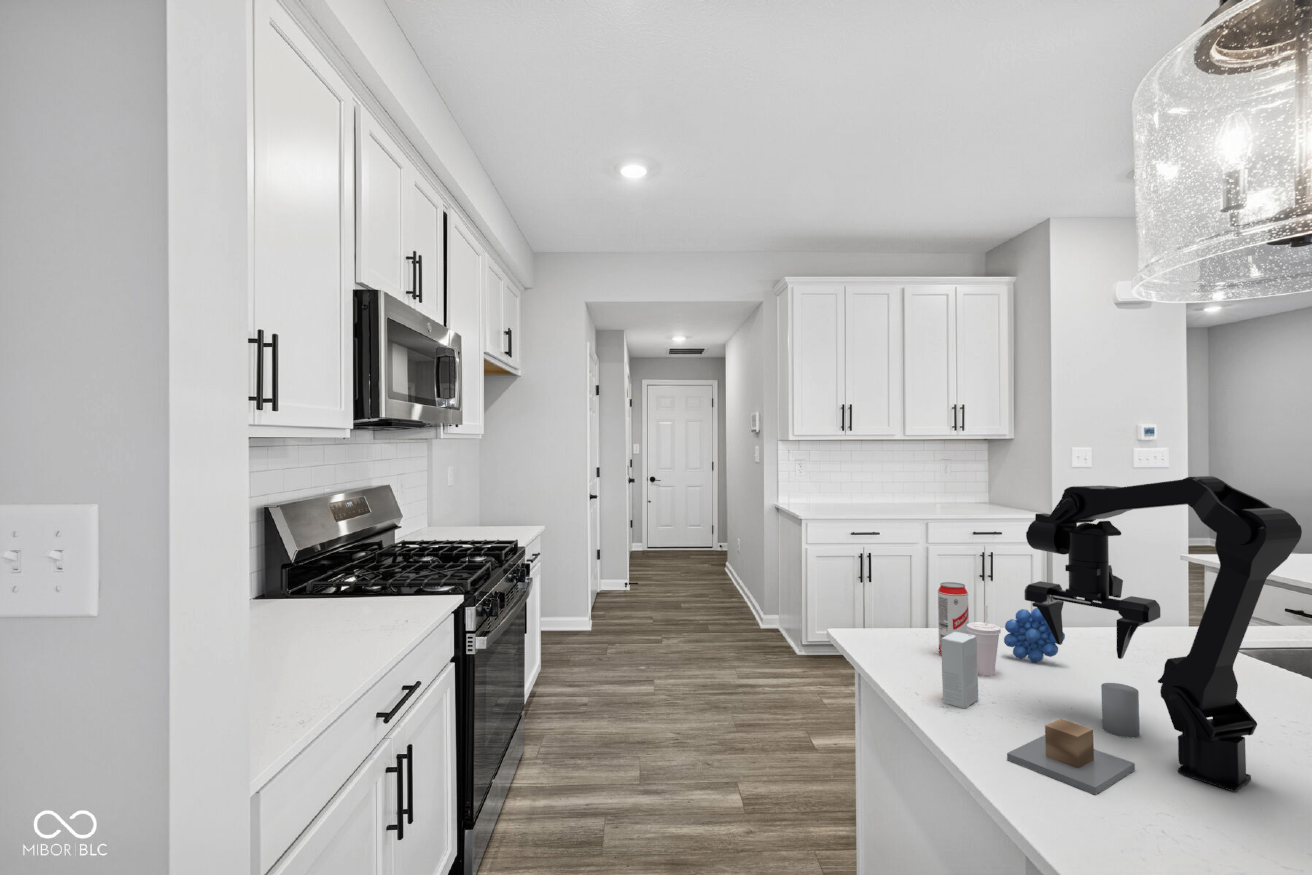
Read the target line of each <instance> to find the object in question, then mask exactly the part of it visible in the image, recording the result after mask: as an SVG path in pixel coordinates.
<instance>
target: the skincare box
mask: <svg viewBox="0 0 1312 875" xmlns="http://www.w3.org/2000/svg"><path fill="white" fill-rule="evenodd" d="M941 651H942V654H941V677H942V678H941V679H942V681H941V683H942V703H943V704H946V705H950V706H954V707H958V708H961V709H967V708H968V707H970V706H971V705H972V704H973V703H975V702H977V701H978V700H979V675H978V670H977V638H976V636H975V635H970V634H965V633H960V632H953V633H951V634H949V635H947V636H945V637H943V638H941Z"/></svg>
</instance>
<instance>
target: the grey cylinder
mask: <svg viewBox="0 0 1312 875" xmlns="http://www.w3.org/2000/svg"><path fill="white" fill-rule="evenodd" d="M1100 690H1101V692H1100V693H1101V723H1102V727H1101V728H1102V729H1104V730H1103V731H1104V732H1106V733H1108V734H1110V735H1113V736H1118V737H1120V738H1126V737H1130V738H1129V739H1132V738H1131V737H1135V738H1138V737H1140V734H1141V733H1140V704H1139V703H1140V702H1139V701H1140V700H1139V699H1140V693H1139V690H1138V689H1137V688H1135V687H1133V686H1130V685H1128V684H1124V683H1123V684H1122V683H1116V682H1105V683H1101V689H1100Z"/></svg>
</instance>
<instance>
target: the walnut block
mask: <svg viewBox="0 0 1312 875" xmlns="http://www.w3.org/2000/svg"><path fill="white" fill-rule="evenodd" d="M1044 726H1045V727H1044V729H1045V730H1044V732H1045V734H1044V735H1045V743H1046V756H1047V757H1050V758H1052V759H1055V760H1057V761H1060V762H1063V763H1065V764H1068V765H1071V766H1073V767H1076V768H1080V767H1082V766H1084V765H1086V764H1088V763H1089V762H1091V761H1093V760H1094V749H1095V748H1094V747H1095V746H1094V729H1093V728H1091V727H1087V726H1085V725H1081V724H1079V723H1076V722H1073V721H1070V720H1067V719H1063V718H1058V719H1056V720H1054V721H1052V722H1050V723H1048V724H1045V725H1044Z"/></svg>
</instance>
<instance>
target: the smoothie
mask: <svg viewBox="0 0 1312 875" xmlns="http://www.w3.org/2000/svg"><path fill="white" fill-rule="evenodd" d="M988 615H989V614H988V605H987V604H984V622H978V621H977V622H969V623H968V624H967V630H968V632H969V634H970V635H975V636H976V638H977V670H978V676H982V675H986V676H985V677H992V676H991V675H993V676H995V673H996V665H997V656H998V655H997V654H998V647H999V637H1000V634H1001V632H1002V630H1001V627H1000V626H998V625H996V624H994V623H989V620H988Z"/></svg>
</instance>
